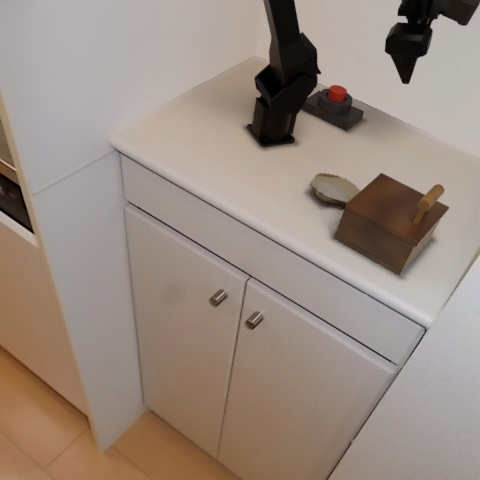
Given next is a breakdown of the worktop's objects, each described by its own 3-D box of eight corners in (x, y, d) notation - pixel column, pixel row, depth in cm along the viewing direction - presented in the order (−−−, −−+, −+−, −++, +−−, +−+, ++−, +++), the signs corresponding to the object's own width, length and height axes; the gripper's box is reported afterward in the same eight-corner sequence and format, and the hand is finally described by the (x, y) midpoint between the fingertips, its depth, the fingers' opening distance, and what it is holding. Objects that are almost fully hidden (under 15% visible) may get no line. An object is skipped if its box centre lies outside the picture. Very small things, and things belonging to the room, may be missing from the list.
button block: (361, 119, 98) (367, 101, 96) (346, 131, 95) (352, 113, 92) (317, 98, 101) (321, 81, 99) (300, 109, 98) (304, 91, 95)
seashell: (360, 213, 82) (336, 175, 85) (371, 200, 80) (346, 161, 83) (321, 218, 78) (297, 178, 81) (331, 205, 76) (306, 163, 78)
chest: (430, 239, 78) (445, 210, 74) (399, 275, 72) (414, 246, 68) (368, 206, 81) (379, 177, 77) (333, 238, 75) (344, 208, 71)
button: (347, 99, 96) (350, 89, 95) (339, 104, 94) (341, 95, 93) (332, 92, 97) (335, 83, 96) (324, 97, 95) (326, 88, 94)
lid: (447, 211, 73) (462, 182, 70) (416, 247, 67) (431, 218, 64) (379, 177, 77) (390, 148, 73) (344, 208, 71) (354, 178, 67)
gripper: (474, -3, 69) (451, 105, 81) (493, -63, 78) (471, 42, 91) (388, -6, 72) (380, 98, 85) (417, -63, 82) (405, 38, 94)
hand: (411, 68), depth 89 cm, fingers open, 9 cm apart
